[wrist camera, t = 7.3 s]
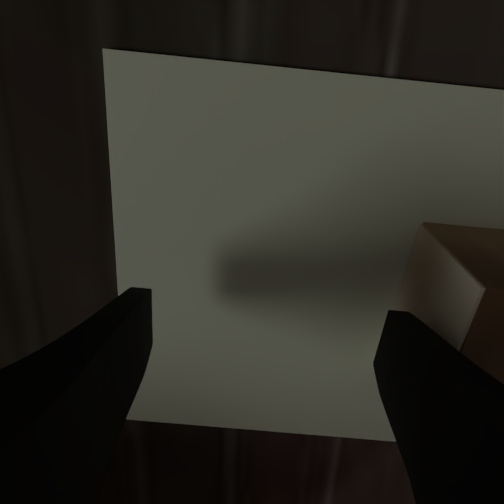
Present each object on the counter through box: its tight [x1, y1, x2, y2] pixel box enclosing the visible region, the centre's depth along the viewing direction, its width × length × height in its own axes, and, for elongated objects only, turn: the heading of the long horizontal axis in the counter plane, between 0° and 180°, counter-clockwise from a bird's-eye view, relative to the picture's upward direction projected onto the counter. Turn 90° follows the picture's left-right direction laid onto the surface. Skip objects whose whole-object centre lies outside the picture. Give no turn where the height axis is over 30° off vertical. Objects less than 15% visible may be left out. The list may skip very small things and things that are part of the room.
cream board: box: [103, 49, 504, 442], centre depth 14 cm, size 18×14×1 cm
